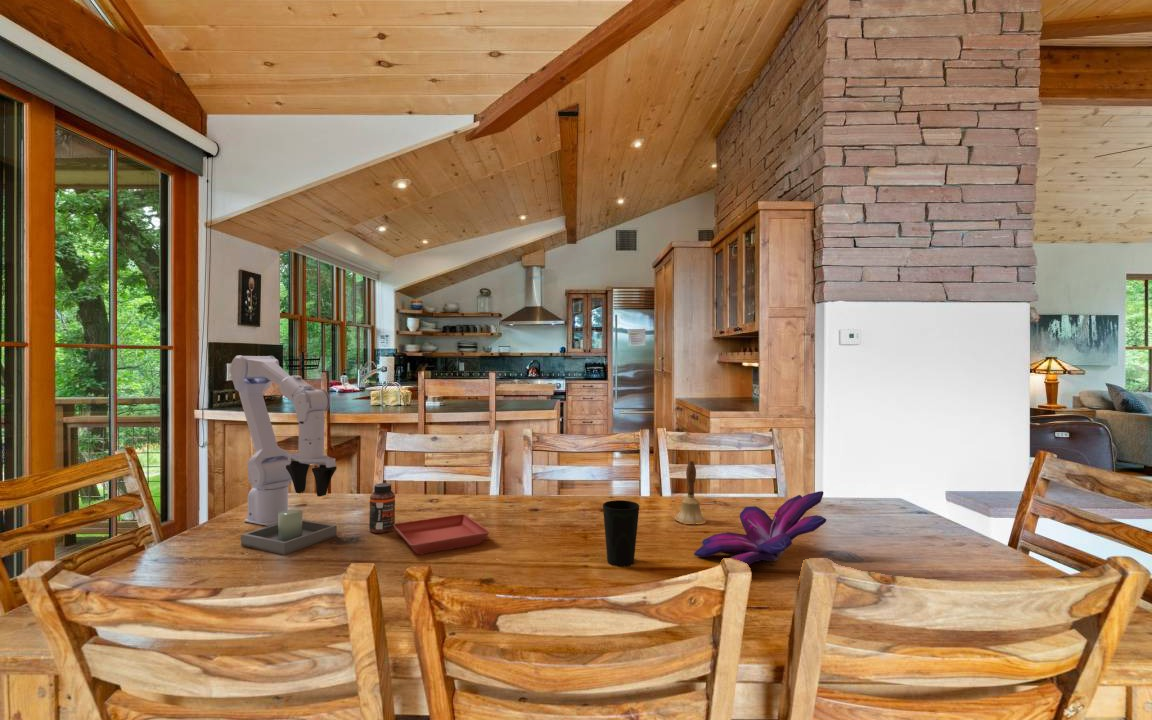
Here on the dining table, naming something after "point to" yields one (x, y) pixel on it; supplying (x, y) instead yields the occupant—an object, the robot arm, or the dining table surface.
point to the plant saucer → (441, 533)
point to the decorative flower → (766, 531)
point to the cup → (620, 531)
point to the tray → (269, 540)
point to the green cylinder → (289, 525)
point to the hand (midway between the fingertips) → (310, 493)
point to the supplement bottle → (382, 509)
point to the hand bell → (690, 500)
